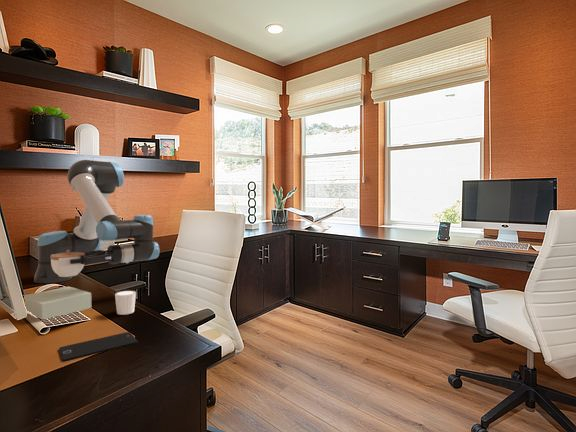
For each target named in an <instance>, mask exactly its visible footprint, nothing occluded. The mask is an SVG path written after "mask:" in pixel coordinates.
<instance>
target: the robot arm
mask: <svg viewBox="0 0 576 432" xmlns="http://www.w3.org/2000/svg"><path fill="white" fill-rule="evenodd" d="M66 175H67V182H68V183H69V186H70V187H71V188H72V190H74V191H75V192H77V193H78V196H80V198H81V200H82V201H83V203H84V209H83V212H82V214H81V218H80V220H79V224H78V225H77V226H76V227H74V228H73V231H72V232H70V233H68V231H66V230H58V231H57V230H56V231H50V232H45V233H42V234H40V235H38V236H37V237H38V238H37V260H38V265H37V268H36V271H35V273H34V277H33V283H36V284H54V283H55V284H56V283H61V282H65V281H66V282H67V281H69V280H71V279H72V277H73V276H70V277H59V275H57V274H56V273H55V272H54V271H53V269H52V266H51V258H50V256H51V255H53V254H57V253H66V250H70V252H82V253H85V257H84V255H81V259H80V257H70V258H60V259H58V266H59V267H60V266H69V265H78V264H80V263H81V264H84V266H87V265H93V264H98V263H104V262H105V263H106V262H108V264H109V265H116V264H120V263H121V264H122V263H125V264H129V263H130V262H132V263H133V262H139V261H140V262H141V261H142V262H143V261H151V260H154V259H155V260H156V259H158V257H159V256H160V252H161V251H160V245H159V244H158V242H156V241H154V238H153V237H154V219H153V216H152V215H150V214H138V215H137V214H136V215H134V216H133V219H127V220H121V219H120V218H119V217H118V216H117V214H116V212H115V211H114V209H113V208H112V206H111V205H110V203H109V202H108V200H109V198H110V195H112V194H113V193H115V190H116V189H117V188H120V187H122V186H123V185H124V181H125V175H124V170H123V168H122V166H121V165H120V164H119V163H117V162H111V161H100V160H93V159H91V160H90V159H82V160H78V161H75V162H74V163H73V164H72V165H71V166H70V167H69V169H68V172H67V174H66ZM127 239H128V240H129V239H133V242H134V243H122V244H120V245H119V244H112V245H111V244H110V245H108V247H107V250H103V249H101V246H102V241H105V242H106V241H117V240H127Z"/></svg>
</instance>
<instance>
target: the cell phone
mask: <svg viewBox="0 0 576 432" xmlns="http://www.w3.org/2000/svg"><path fill="white" fill-rule="evenodd" d="M138 342H139V341H138V340H137V338H136V337H135V336H134V335H133V334H132V333H131V332H130V331H127V332H122V333H117V334H113V335H108V336H104V337H99V338H95V339H91V340H86V341H85V340H84V341H81V342H77V343H73V344H68V345H64V346H60V347H59V348H58V349H59V350H58V351H59V354H60V356H61V357H60V358H61V360H62V362H67V361H72V360H76V359H80V358H85V357H88V356H89V357H90V356H92V355H96V354H99V353H105V352H108V351H112V350H116V349H120V348H124V347H128V346H133V345H136V344H138Z"/></svg>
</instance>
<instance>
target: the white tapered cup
mask: <svg viewBox="0 0 576 432" xmlns="http://www.w3.org/2000/svg"><path fill="white" fill-rule="evenodd" d="M136 295H137V292H136V291H135V290H123V291H117V292H116V293H115V294H114V298H115V306H116V307H115V310H116V314H117V315H121V316H122V315H124V316H125V315H129V314H133V313H134V312H135V307H136V305H135V304H136Z"/></svg>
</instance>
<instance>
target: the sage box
mask: <svg viewBox="0 0 576 432" xmlns="http://www.w3.org/2000/svg"><path fill="white" fill-rule="evenodd" d="M23 296H24V299H25V305H26V309H27V311H29V312H31V313H32V314H33V315H35V316H36V317H38V318H41V319H46V318H51V317H55V316H59V317H61V316H60V315H63V316H66V315H65V314H67V315H69V313H70V314H74V313H78V312H81V311H85V310H89V309H92V293H91V292H90V291H87V290H83V289H79V288H76V287H72V286H68V285H67V286H64V287H60V288H55V289H54V288H53V289H48V290H43V291H39V292H35V293H30V294H23ZM73 312H74V313H73ZM55 318H56V317H55Z"/></svg>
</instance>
